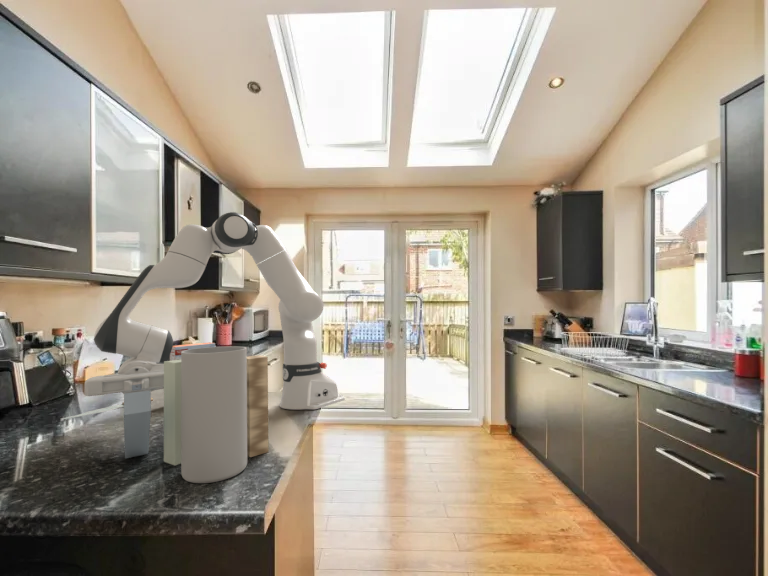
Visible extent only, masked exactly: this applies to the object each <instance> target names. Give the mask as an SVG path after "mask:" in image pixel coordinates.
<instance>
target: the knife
mask: <svg viewBox="0 0 768 576" xmlns="http://www.w3.org/2000/svg"><path fill="white" fill-rule="evenodd" d="M151 401H153V402H154V398H153V397H152V396H151ZM119 409H124V401H123V402H122V403H120V404H117V405H115V404H114V405H112V406H111V405H110V406H107V407H103V408H99V409H94V410H89V411H86V412H83V413H79V414H76V415H72V416H66V417H63V418H61V420H66V419H73V418H78V417H79V418H80V417H85V416H91V415H94V414H99V413H104V412H105V413H106V412H110V411H114V410H119Z"/></svg>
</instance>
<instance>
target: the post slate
mask: <svg viewBox="0 0 768 576" xmlns="http://www.w3.org/2000/svg"><path fill="white" fill-rule="evenodd" d="M151 392H152V391H142V392H134V393H125V394H123V402H124V407H123V429H124V430H123V433H124V436H123V437H124V458H125V459H129V458H133V457H134V458H135V457H139V456H143V455H148V454H149V451H150V450H149V448H150V447H149V446H150V431H151V417H152V402H151V397H152V396H151Z"/></svg>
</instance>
